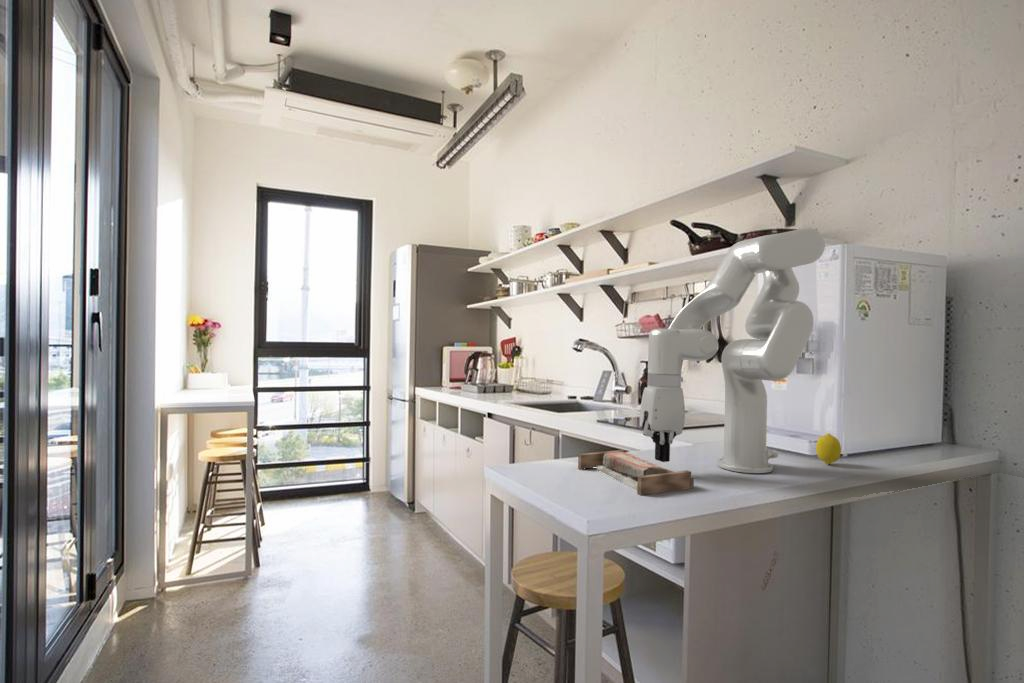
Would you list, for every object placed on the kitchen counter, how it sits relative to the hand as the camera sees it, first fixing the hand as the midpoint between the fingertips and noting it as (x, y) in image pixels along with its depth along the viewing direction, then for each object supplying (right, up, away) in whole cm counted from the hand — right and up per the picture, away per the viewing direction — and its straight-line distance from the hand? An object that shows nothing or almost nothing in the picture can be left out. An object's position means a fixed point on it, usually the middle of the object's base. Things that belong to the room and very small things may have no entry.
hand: (662, 460), depth 124 cm
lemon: (+46, -4, +12) cm, 47 cm away
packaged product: (-7, -4, -4) cm, 9 cm away
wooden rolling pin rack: (-8, -3, -4) cm, 9 cm away
